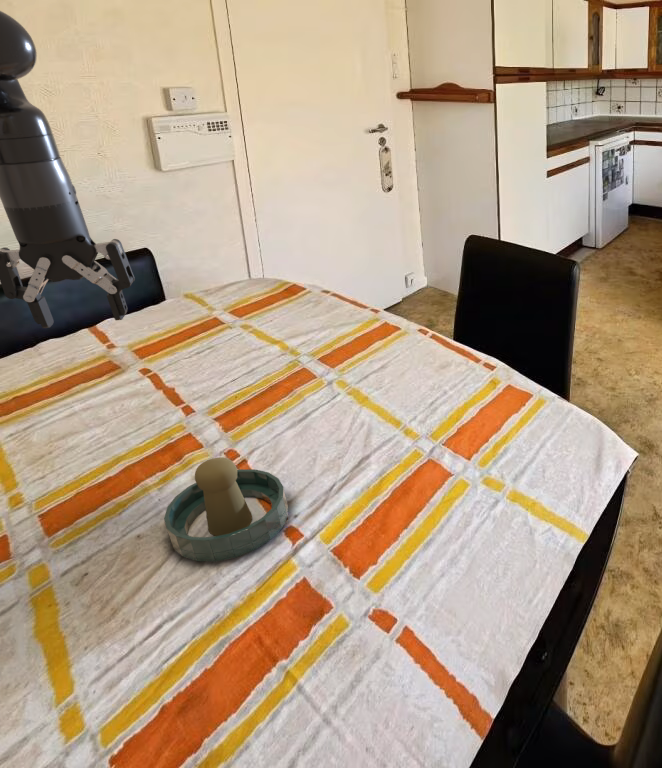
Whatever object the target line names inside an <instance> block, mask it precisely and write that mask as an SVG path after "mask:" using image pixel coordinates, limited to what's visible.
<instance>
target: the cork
mask: <svg viewBox="0 0 662 768" xmlns="http://www.w3.org/2000/svg"><path fill="white" fill-rule="evenodd" d="M237 470H238V468H237V466H236V464H235V462H234V461H233V460H231V459H230V458H227V457H223V456H220V457H213V458H209V459H207V460H204V461H203V462H201V463H200V464H199V465H198V466H197V468H196V469H195V472H194V481H195V483H197V485H198V487H199V488H200V489H202V490H203V493H204V500H205V508H206V510H205V515H206V521H207V530H208V532H209V534H210V535H211V536H212V537H214V536H219V535H225V534H229V533H232V532H235V531H237V530H240V529H243V528H245V527H247V526H249V525H251V524H252V523H253V522H252V521H253V515H252V511H251V510H250V508H249V505H248V503H247V501H246V499H245V497H243V495H242V493H241V491H240V489H239V487H238V484H237V482H236V479H237Z"/></svg>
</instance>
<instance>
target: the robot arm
mask: <svg viewBox="0 0 662 768" xmlns="http://www.w3.org/2000/svg"><path fill="white" fill-rule="evenodd" d="M36 48H37V47H36V45H35V42H34V40H33V38H32V36H31V35H30V33H29V32H28V31H27V30H26V28H25V27H24V26H23V25H22V24H21V23H20V22H19V21H17V20H16V19H15V18H14V17H12V16H11V15H9V14H7V13H6V12H4V11H2V10H0V201H1V203H2V206H3V209H4V211H5V214H6V217H7V218H8V221H9V224H10V226H11V229H12V231H13V234H14V236H15V239H16V241H17V243H18V244H19V249H10V248H8V247H1V248H0V284H1V288H2V290H3V293H4V296H5V297H6V298H7V299H8V300H14V299H19V300H23V301H24V302H26V304H27V306H28V308H29V310H30V314H31V315H32V318H33V320H34V322H35V323H36V324H37V325H41V328H42V329H47V328H49V329H50V328H51V327H53V325H54V323H55V322H54V321H55V320H54V317H53V315H52V313H51V309H50V307H49V305H48V302H47V299H46V297H45V295H44V296H42V293H43V291H44V288H45V286H46V285H47V283H48V281H52V282H53V283H56V282H63V281H65V280H70V281H77V280H82V279H83V278H84V279H86V280H87V281H89V282H91V283H92V284H94V285H97V286H99V287H100V288H101V289H102V290H103V291H105V292H107V294H106V299H107V302H108V304H109V306H110V310H111V312H112V315H113V319H114V320H115V321H122V320H124V318H125V315H126V314H127V312H128V304H127V302H126V298H125V296H124V293H123V290H125V289H128V288H130V287H131V286H132V284H133V283H134V282H135V280H136V278H135V275H134V272H133V270H132V268H131V265H130V262H129V259H128V257H127V254H126V252H125V249H124V246H123V244H122V241H121V240H119V239H117V238H113V239H112V240H110V241H107V242H105V241H104V242H100V243H96V242H95V241H94V240H93V239H92V237H91V235H90V233H89V229H88V225H87V223H86V220H85V217H84V214H83V211H82V208H81V205H80V202H79V199H78V196H77V190H76V187H75V185H74V184H73V181H72V178H71V176H70V174H69V172H68V170H67V168H66V166H65V164H64V161H63V159H62V157H61V153H60V151H59V148H58V144H57V142H56V139H55V135H54V133H53V131H52V127H51V125H50V122H49V121H48V118H47V116H46V115H45V113H44V112H43V111H42V109H40V108H39V107H37V106H36V105H34V104H32V103H31V102H30V101H29V100H28V98H27V96H26V93H25V91H24V90H23V88H22V86H21V83H20V82H19V79H21V78H24V77H26V76H27V75H28V74H30V73H31V72H32V71H33V69H34V68H35V66H36V63H37V57H38V55H37V54H38V53H37V49H36ZM98 254H101V255H102V256H103V257H104V258H105V259H106V260H108V261H110V263H111V264H112V268H113V270H114V273H115V276H116V277H115V276H114V275H113V274H111V273H110V272H109V271H108V269H107V268H105V267H104V266H103V265H101V264H100V263H99V262H97V261H96V259H97V256H98ZM20 260H21V261H22V262H24V263H25V264H26V265H27V266H28V267H30V268H31V269H33V273H32V274H31V277H30V278H29V281H28V283H27V284H28V285H27V287H26V286H23V282H22V279H21V276H20V273H19V271H18V266H19V265H20Z"/></svg>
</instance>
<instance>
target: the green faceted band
mask: <svg viewBox="0 0 662 768" xmlns="http://www.w3.org/2000/svg"><path fill="white" fill-rule="evenodd" d="M236 482H237V484H238V487H239V489H240V491H241V493H242V495H243V497H244V498H255V499H258V500H259V499H260V500H262V501H264V502H266V503H267V504H269V505H270V507H271V508H270V510H268V511H267V513H265V514H264V515H263V516H262V517H261V518H259V519H257V520H256V521H254V522H251V524H250V525H249V526H247V527H245V528H243V529H240V530H237V531H235V532H232V533H229V534H225V535H219V536H191V535H189V534H188V533H189V529H190V526H191V525H192V523H193V522H194V521H195V519H196V518H197V517H198V516H200V515H201V514H202V513H203V512H204V511H206V508H205V500H204V493H203V490H202V489H200V488H199V487H198V485H197V483H196V482H194V483H192V484H191V485H188V486H186V488H185V489H183V490H181V492H179V493H178V494H177V495H175V497H174V498H173V500H172V501H170V503H169V505H168V506H167V507H166V510H165V513H164V516H163V521H164V525H165V528H166V531H167V534H168V537H169V539H170V542H171V545H172V548H173V550H174V551H175V552H176V553H178V554H179V555H180V556H181V557H182V558H186V559H189V560H192V561H196V562H221V561H225V560H230V559H235V558H238V557H241V556H243V555H246V554H248V553H251V552H253V551H255V550H257V549H258V548H260V547H262V546H263V545H265V544H267V543H268V542H270V541H271V540H272V539H273V538H274V537H275V536H276V535H277V534H278V533H279V532H280V531H281V530H282V529H283V527H284V525H285V524H286V521H287V519H288V517H289V505H288V501H287V497H286V492H285V488H284V485H283V483H282V482H281V480H280V479H279V478H278V477H277V476H276V475H274V474H272V473H270V472H269V471H264V470H260V469H249V468H248V469H246V468H245V469H243V468H241V469H237V479H236Z"/></svg>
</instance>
